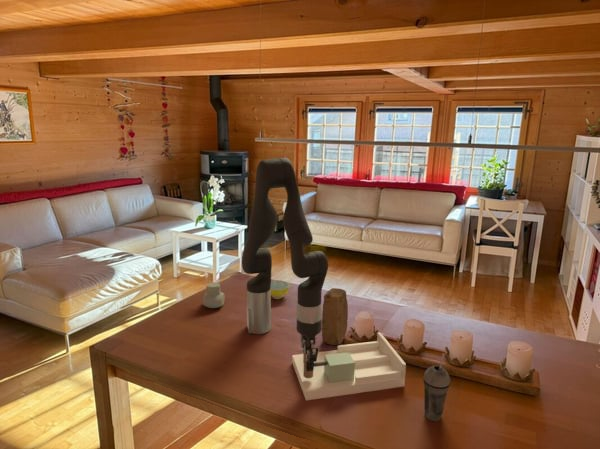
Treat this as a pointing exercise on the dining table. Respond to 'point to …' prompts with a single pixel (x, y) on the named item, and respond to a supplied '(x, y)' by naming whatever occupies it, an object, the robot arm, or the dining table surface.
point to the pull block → (334, 367)
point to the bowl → (279, 289)
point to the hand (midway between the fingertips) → (308, 366)
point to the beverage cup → (435, 391)
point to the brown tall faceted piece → (334, 316)
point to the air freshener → (213, 296)
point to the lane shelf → (368, 370)
